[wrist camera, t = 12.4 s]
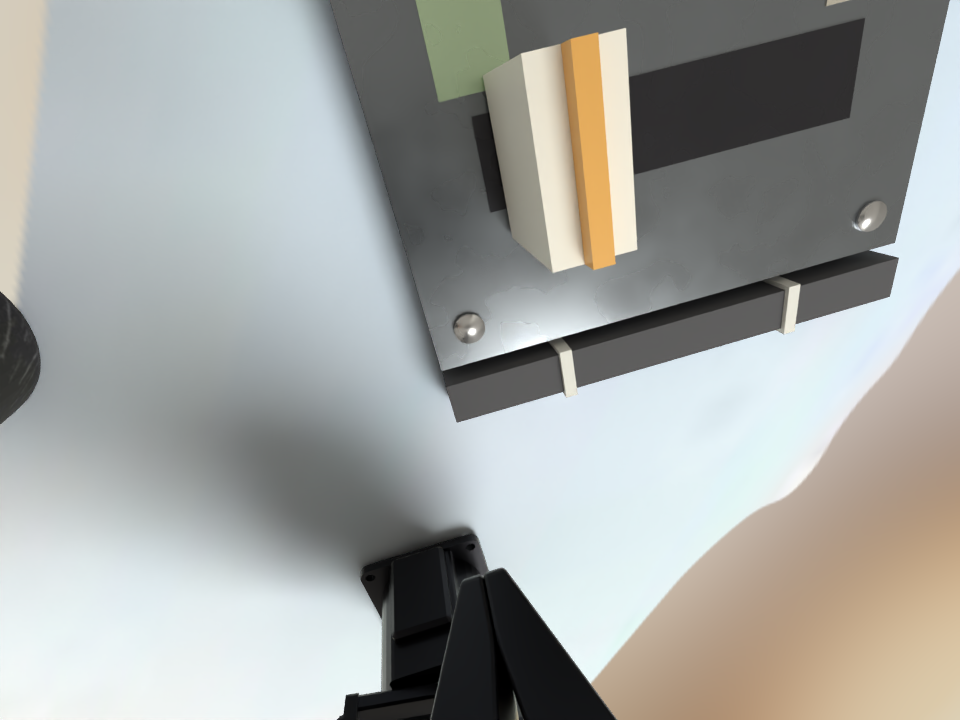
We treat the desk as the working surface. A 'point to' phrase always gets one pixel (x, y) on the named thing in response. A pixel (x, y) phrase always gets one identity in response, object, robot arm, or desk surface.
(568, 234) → the lever
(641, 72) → the breaker panel
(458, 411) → the cord bundle inner
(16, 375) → the travel mug
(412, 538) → the desk surface
